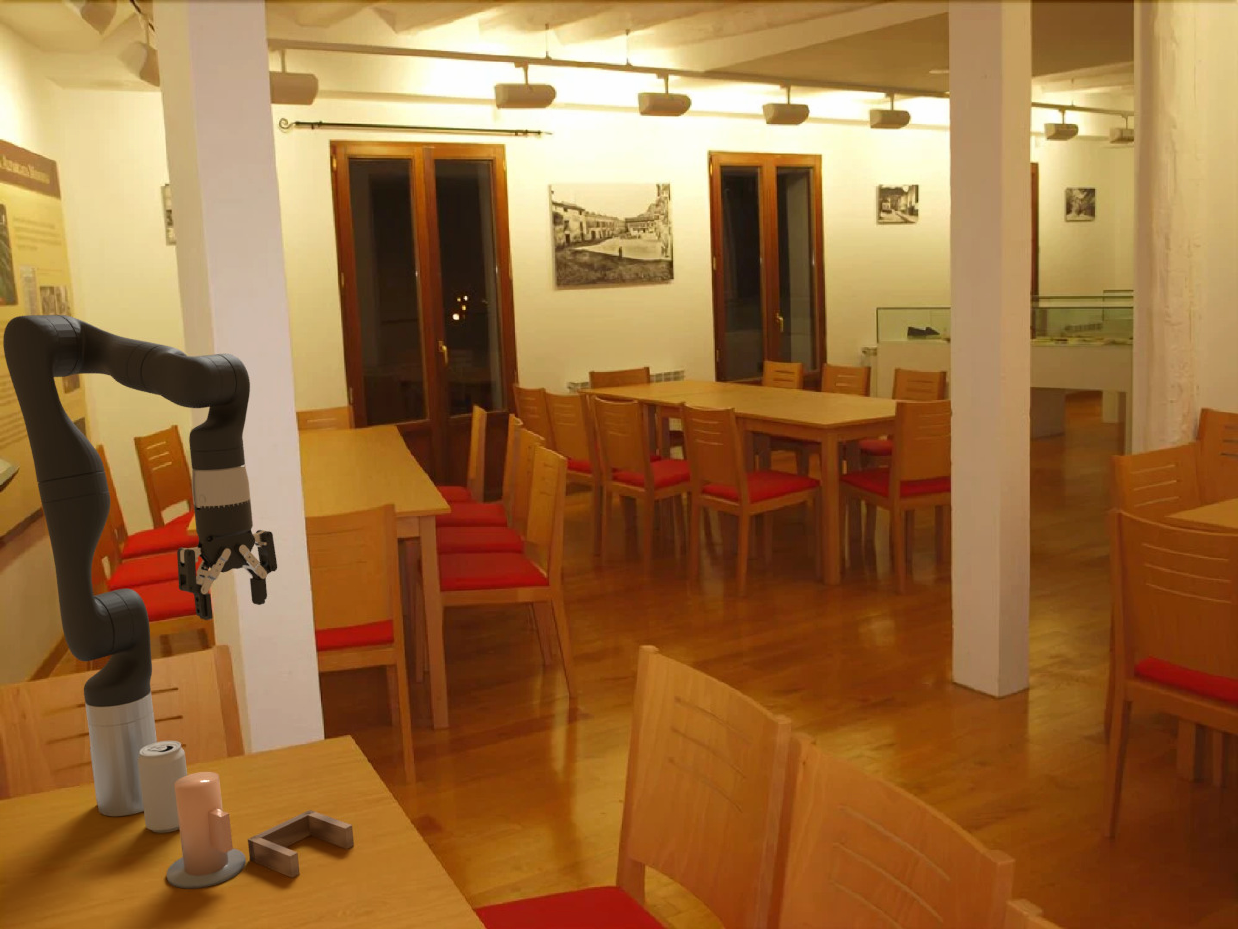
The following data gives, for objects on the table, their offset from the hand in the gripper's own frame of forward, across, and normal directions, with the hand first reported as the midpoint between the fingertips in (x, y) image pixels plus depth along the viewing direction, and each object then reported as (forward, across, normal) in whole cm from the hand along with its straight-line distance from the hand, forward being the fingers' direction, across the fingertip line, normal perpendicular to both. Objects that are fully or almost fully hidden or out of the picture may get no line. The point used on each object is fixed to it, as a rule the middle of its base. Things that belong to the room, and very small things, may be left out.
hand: (232, 611), depth 164 cm
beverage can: (+32, +7, -11) cm, 35 cm away
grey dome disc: (+32, +12, +6) cm, 35 cm away
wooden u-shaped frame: (+32, +2, +14) cm, 35 cm away
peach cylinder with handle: (+31, +12, +8) cm, 34 cm away
